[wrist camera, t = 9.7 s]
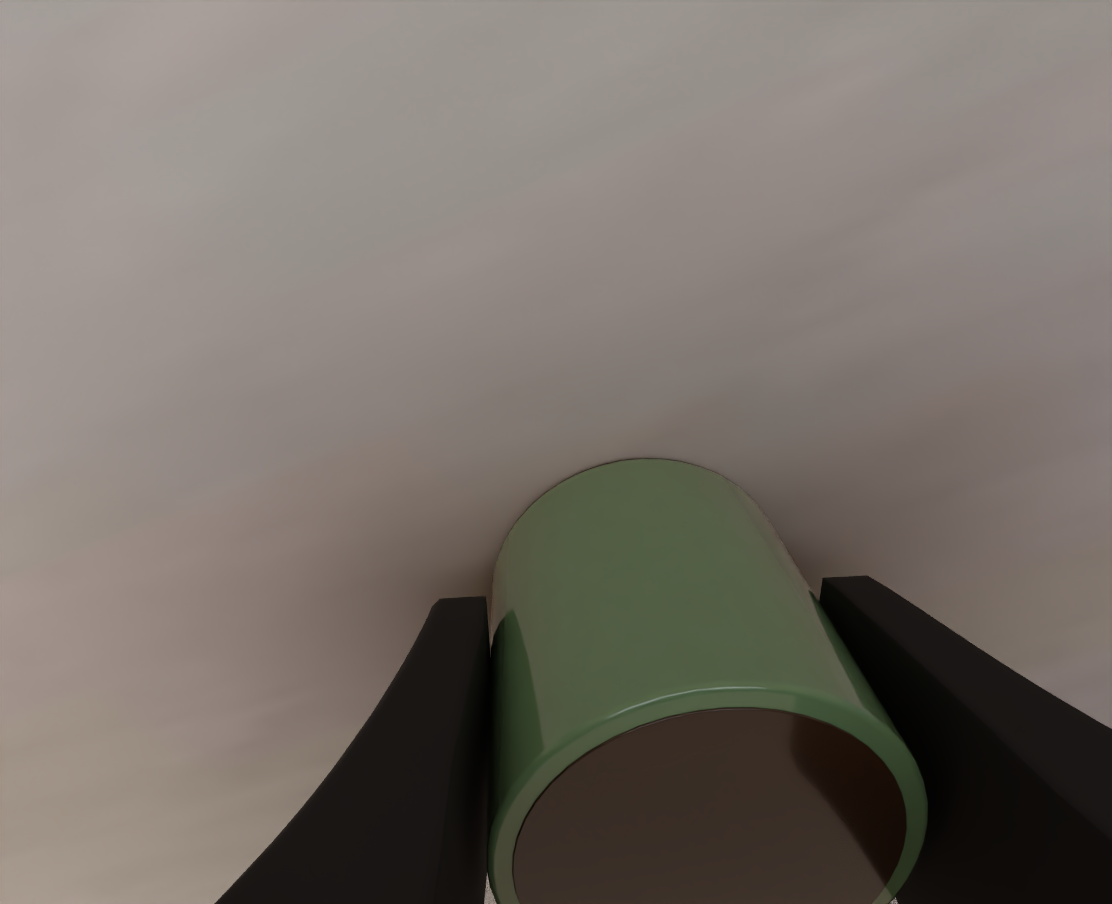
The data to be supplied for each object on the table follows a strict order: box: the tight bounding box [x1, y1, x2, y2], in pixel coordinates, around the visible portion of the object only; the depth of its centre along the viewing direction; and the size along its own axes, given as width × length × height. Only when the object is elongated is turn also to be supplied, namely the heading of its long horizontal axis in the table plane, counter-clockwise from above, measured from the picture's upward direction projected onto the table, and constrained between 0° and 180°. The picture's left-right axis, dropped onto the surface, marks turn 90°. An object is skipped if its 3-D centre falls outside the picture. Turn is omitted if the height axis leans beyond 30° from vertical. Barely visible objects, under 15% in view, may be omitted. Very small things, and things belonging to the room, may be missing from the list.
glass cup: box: [486, 459, 928, 904], centre depth 10 cm, size 4×4×5 cm
